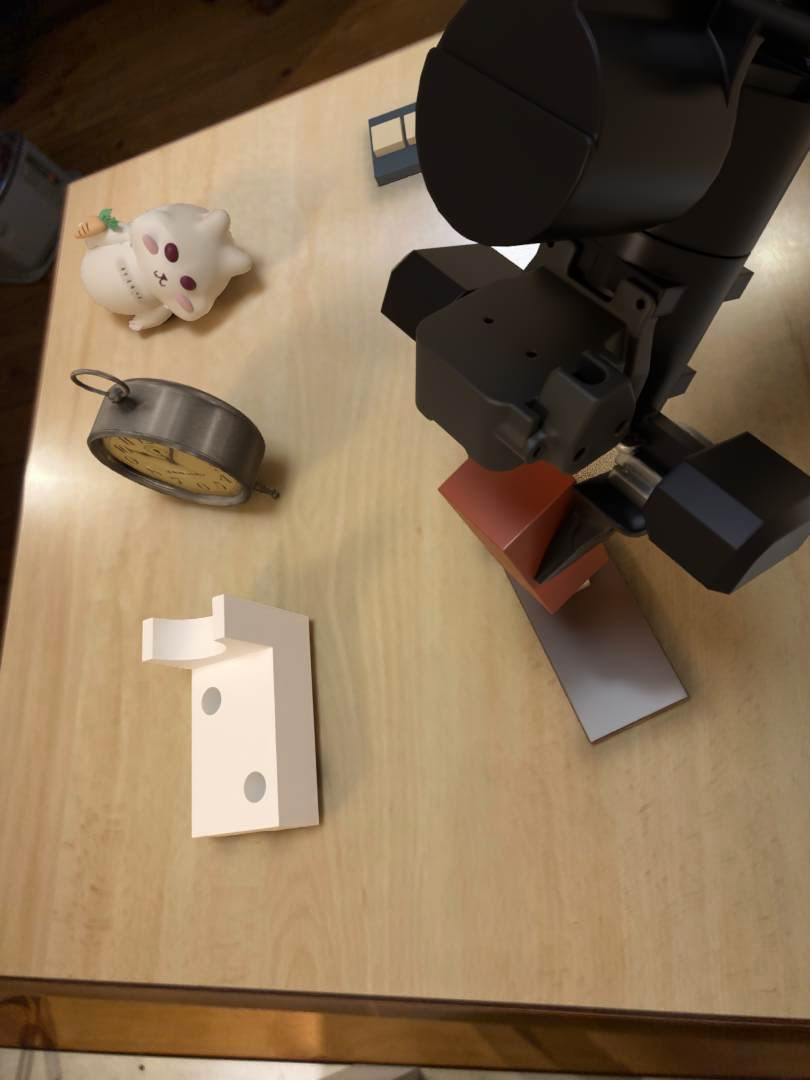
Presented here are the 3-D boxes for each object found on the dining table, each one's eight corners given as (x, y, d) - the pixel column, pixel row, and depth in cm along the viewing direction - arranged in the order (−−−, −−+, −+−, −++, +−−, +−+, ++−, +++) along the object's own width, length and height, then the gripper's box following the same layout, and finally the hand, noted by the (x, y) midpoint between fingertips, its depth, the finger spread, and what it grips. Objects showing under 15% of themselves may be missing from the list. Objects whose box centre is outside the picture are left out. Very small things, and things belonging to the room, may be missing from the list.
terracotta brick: (553, 509, 44) (505, 419, 34) (609, 559, 42) (576, 478, 32) (498, 563, 44) (436, 488, 34) (552, 615, 42) (502, 552, 32)
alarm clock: (160, 504, 63) (-5, 407, 48) (181, 438, 64) (26, 325, 50) (286, 520, 59) (146, 419, 44) (305, 449, 60) (175, 329, 46)
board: (575, 495, 52) (571, 484, 51) (690, 699, 46) (689, 694, 45) (490, 540, 53) (483, 531, 52) (592, 745, 47) (588, 742, 46)
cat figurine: (23, 244, 63) (180, 188, 56) (81, 204, 68) (229, 149, 62) (95, 355, 68) (245, 315, 62) (142, 309, 74) (285, 269, 67)
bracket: (230, 639, 58) (142, 620, 52) (308, 616, 55) (223, 593, 49) (233, 835, 54) (138, 840, 48) (319, 824, 50) (227, 828, 44)
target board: (556, 61, 63) (552, 41, 62) (569, 121, 61) (565, 101, 60) (372, 128, 68) (364, 111, 66) (378, 186, 65) (370, 170, 64)
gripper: (316, 94, 27) (247, 465, 37) (796, 428, 19) (539, 790, 29) (536, 106, 34) (427, 416, 44) (959, 354, 26) (705, 667, 36)
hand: (509, 547), depth 38 cm, fingers closed on terracotta brick, 4 cm apart
